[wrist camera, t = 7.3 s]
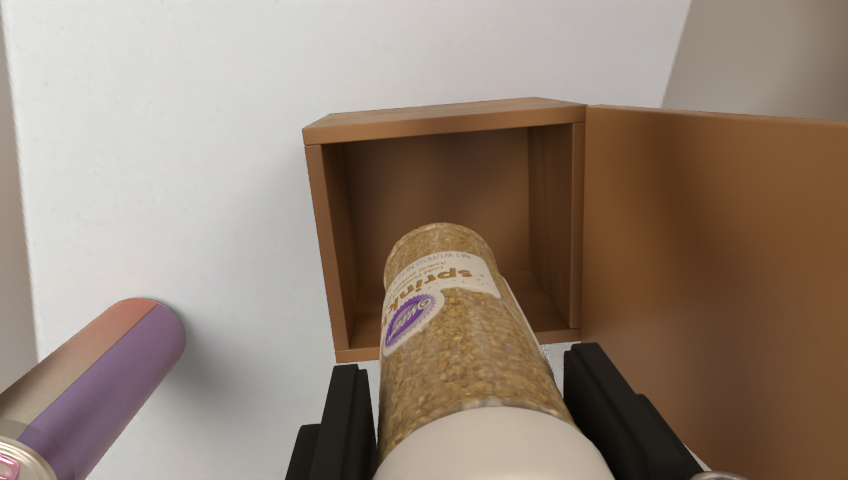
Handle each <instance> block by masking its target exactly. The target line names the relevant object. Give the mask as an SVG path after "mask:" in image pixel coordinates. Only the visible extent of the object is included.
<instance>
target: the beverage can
mask: <svg viewBox="0 0 848 480" xmlns="http://www.w3.org/2000/svg"><path fill="white" fill-rule="evenodd" d="M184 348H185V333H184V329H183V326H182V324H181V322H180V320H179V318H178V317H177V316H176V315H175V313H174V312H173V311H172V310H170V309H169V308H168V307H166V306H165V305H163V304H161V303H159V302H156V301H153V300H149V299H142V298H131V299H125V300H122V301H119V302H117V303H115V304H114V305H112V306H111V307H109V308H108V309H107V310H106V311H104V312H103V313H102V314H101V315H99V316H98V317H97V318H96V319H94V320H93V321H92V322H91V323H89V324H88V325H87V326H86V327H84V328H83V329H82V330H80V331H79V332H78V333H77V334H75V335H74V336H73V337H72V338H70V339H69V340H68V341H67V342H65V343H64V344H63V345H62V346H60V347H59V348H58V349H57V350H55V351H54V352H53V353H51V354H50V355H49V356H48V357H46V358H45V359H44V360H43V361H41V362H40V363H39V364H38V365H36V366H35V367H34V368H33V369H31V370H30V371H29V372H28V373H26V374H25V375H24V376H23V377H22V378H20V379H19V380H18V381H16V382H15V383H14V384H12V385H11V386H10V387H9V388H7V389H6V390H5V391H4V392H2V393H1V394H0V480H85V479H86V477H87V476H88V475H89V474H90V472H91V471H92V470H93V468H94V467H95V466H96V465H97V463H98V462H99V461H100V459H101V458H102V457H103V456H104V454H105V453H106V452H107V451H108V449H109V448H110V447H111V445H112V444H113V443H114V442H115V440H116V439H117V438H118V436H119V435H120V434H121V433H122V431H123V430H124V429H125V428H126V426H127V425H128V424H129V422H130V421H131V420H132V419H133V417H134V416H135V415H136V413H137V412H138V411H139V410H140V408H141V407H142V406H143V405H144V403H145V402H146V401H147V399H148V398H149V397H150V396H151V394H152V393H153V392H154V390H155V389H156V388H157V387H158V385H159V384H160V383H161V381H162V380H163V379H164V378H165V376H166V375H167V374H168V373H169V371H170V370H171V369H172V367H173V366H174V365H175V364H176V362H177V361H178V360H179V358H180V357H181V355H182V353H183V351H184Z"/></svg>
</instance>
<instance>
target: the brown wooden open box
mask: <svg viewBox="0 0 848 480" xmlns="http://www.w3.org/2000/svg"><path fill="white" fill-rule="evenodd" d="M587 106H589V105H587V104H580V103H573V102H566V101H559V100H553V99H546V98H539V97H529V98H517V99H504V100H492V101H480V102H468V103H456V104H444V105H432V106H419V107H407V108H395V109H383V110H371V111H359V112H347V113H335V114H329V115H327V116H325V117H323V118H321V119H319V120H318V121H316V122H314V123H312V124H310V125H308V126H306V127H305V128H303V129H302V134H303V140H304V145H305V154H306V161H307V167H308V174H309V181H310V187H311V194H312V201H313V208H314V214H315V221H316V228H317V234H318V241H319V248H320V255H321V261H322V268H323V275H324V281H325V288H326V295H327V301H328V308H329V315H330V322H331V328H332V335H333V342H334V348H335V355H336V362H337V363H348V362H359V361H370V360H380V342H381V325H382V311H383V303H384V299H385V296H386V291H385V287H384V271H385V266H386V262H387V259H388V256H389V254H390V252H391V251H392V249H393V247H394V245H395V244H396V242H398V241H399V240H400V239H401V238H402V237H403V236H404V235H406V234H408V233H410V232H411V231H412V230H414V229H418V228H419V227H421V226H425V225H428V224H431V223H444V222H445V223H452V224H455V225H461V226H464V227H466V228H469V229H471V230H472V231H474V232H476V233H477V234H479V235H480V236H481V237H482V238H483V240H484V241H485V242H486V243H487V245H488V246H489V248H490V249H491V251H492V252H493V255H494V258H495V261H496V264H497V269H498V271H499V274H500V275H501V276H502V277H504V278H505V280H506V282H507V283H508V285H509V287H510V289H511V291H512V293H513V295H514V296H515V298H516V300H517V302H518V304H519V306H520V308H521V310H522V312H523V313H524V315H525V317H526V319H527V321H528V323H529V325H530V327H531V329H532V331H533V333H534V335H535V337H536V339H537V340H538V342H539V344H540V345H542V344H552V343H563V342H574V341H581V317H582V270H583V223H584V176H585V129H586V107H587Z"/></svg>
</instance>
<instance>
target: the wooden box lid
mask: <svg viewBox="0 0 848 480" xmlns="http://www.w3.org/2000/svg"><path fill="white" fill-rule="evenodd" d="M590 342H597V343H598V344H599V345H600V347H601V348H602V349H603V351H604V352H605V353H606V355H607V356H608V357H609V359H610V360H611V361H612V363H613V364H614V365H615V367H616V368H617V369H618V371H619V372H620V373H621V375H622V376H623V377H624V379H625V380H626V381H627V383H628V384H629V385H630V387H631V388H632V390H633V391H634V392H635V394H643V395H645V396H646V397H647V398H648V399H649V400H650V402H651V403H652V404H653V406H654V407H655V408H656V409H657V411H658V412H659V413H660V415H661V416H662V417H663V418H664V420H665V421H666V422H667V424H668V425H669V426H670V428H671V429H672V430H673V431H674V433H675V434H676V435H677V437H678V438H679V439H680V440H681V442H683V443H684V444H685V445H686V446H687V447H688V448H689V449H690V450H691V451H692V452H693V453H694V454H695V455H697V457H698V458H699V459H700V460H702V461H703V462H704V463H705V464H706V465H707V466H708V467H709V468H710V469H711V470H712V471H723V472H728V473H733V474H736V475H738V476H741V477H744V478H747V479H748V480H848V121H836V120H835V121H834V120H820V119H805V118H791V117H777V116H762V115H761V116H760V115H746V114H731V113H718V112H703V111H688V110H673V109H659V108H644V107H629V106H614V105H591V106H587V107H586V129H585V176H584V223H583V270H582V317H581V343H590Z"/></svg>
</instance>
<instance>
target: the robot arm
mask: <svg viewBox="0 0 848 480" xmlns="http://www.w3.org/2000/svg"><path fill="white" fill-rule="evenodd" d="M563 401H564V403H565V405H566V406H567V408H568V410H569V412H570V414H571V416H572V418H573V420H574V422H575V424H576V426H577V427H578V428H579V429H580V430H581V431H582V433H583V434H584V436H585V437H586V438H587V439H589V440H590V441H591V442H592V443H593V444H594V445H595V447H596V448H597V449H598V450H599V451H600V453H601V454H602V456H603V458H604V459H605V461H606V463H607V465H608V467H609V469H610V471H611V472H612V474H613V476H614V478H615V480H748V479H747V478H744V477H741V476H738V475H736V474H733V473H728V472H723V471H705V472H704V470H703V469H702V468H701V466H700V465H699V464H698V463H697V461H696V460H695V459H694V458H693V456H692V455H691V453H690V452H689V451H688V450H687V448H686V447H685V446H684V444H683V443H682V442H681V440H680V439H679V438H678V437H677V435H676V434H675V433H674V431H673V430H672V429H671V428H670V426H669V425H668V424H667V422H666V421H665V420H664V418H663V417H662V416H661V415H660V413H659V412H658V411H657V409H656V408H655V407H654V406H653V404H652V403H651V402H650V400H649V399H648V398H647V397H646V396H645V395H643V394H635V392H634V391H633V390H632V388H631V387H630V385H629V384H628V383H627V381H626V380H625V379H624V377H623V376H622V375H621V373H620V372H619V371H618V369H617V368H616V367H615V365H614V364H613V363H612V361H611V360H610V359H609V357H608V356H607V355H606V353H605V352H604V351H603V349H602V348H601V347H600V345H599V344H598V343H597V342H590V343H579V344H573V345H572V347H571V350H569V351H565V352H564V381H563ZM376 467H377V445H376V437H375V429H374V421H373V413H372V405H371V397H370V389H369V381H368V374H367V370H366V369H361V370H359V368H358V364H349V365H338V366H334V368H333V372H332V376H331V381H330V385H329V390H328V394H327V399H326V403H325V408H324V412H323V417H322V421H321V424H310V425H302V426H301V427H300V429H299V432H298V435H297V439H296V442H295V446H294V450H293V453H292V457H291V460H290V464H289V467H288V471H287V474H286V478H285V480H372V478H373V477H374V475H375V473H376Z"/></svg>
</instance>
